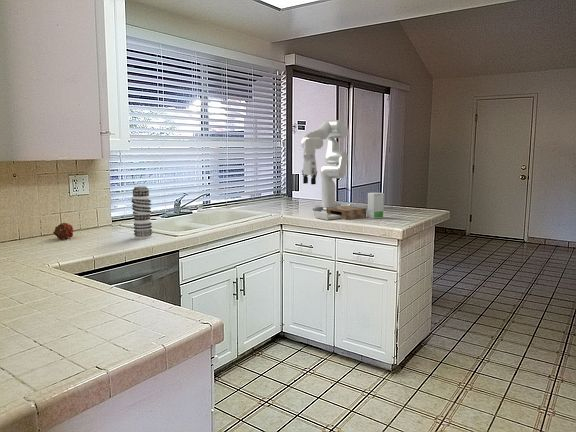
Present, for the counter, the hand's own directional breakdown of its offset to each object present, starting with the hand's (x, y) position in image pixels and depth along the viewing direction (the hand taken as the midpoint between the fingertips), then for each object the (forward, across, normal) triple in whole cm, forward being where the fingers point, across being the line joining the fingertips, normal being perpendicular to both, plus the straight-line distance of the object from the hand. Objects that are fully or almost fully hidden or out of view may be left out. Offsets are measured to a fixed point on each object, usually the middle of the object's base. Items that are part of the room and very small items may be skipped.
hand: (309, 183), depth 294 cm
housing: (+20, -17, -17) cm, 31 cm away
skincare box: (+21, -31, -29) cm, 47 cm away
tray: (+20, -18, -5) cm, 27 cm away
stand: (+20, -4, -4) cm, 21 cm away
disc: (+17, -4, -4) cm, 18 cm away
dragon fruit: (+21, -5, +144) cm, 145 cm away
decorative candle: (+21, -22, +109) cm, 113 cm away
